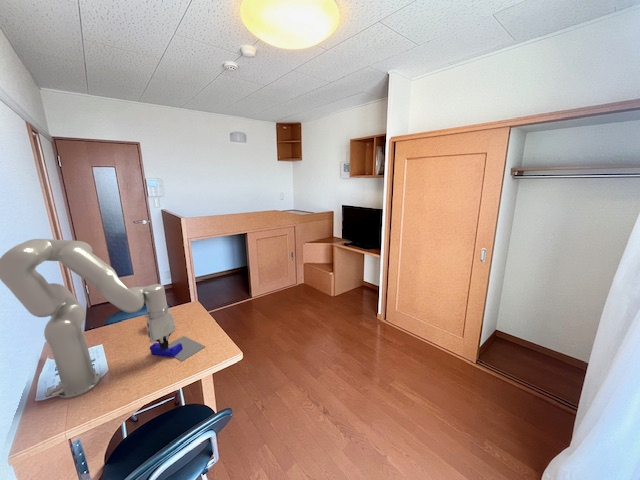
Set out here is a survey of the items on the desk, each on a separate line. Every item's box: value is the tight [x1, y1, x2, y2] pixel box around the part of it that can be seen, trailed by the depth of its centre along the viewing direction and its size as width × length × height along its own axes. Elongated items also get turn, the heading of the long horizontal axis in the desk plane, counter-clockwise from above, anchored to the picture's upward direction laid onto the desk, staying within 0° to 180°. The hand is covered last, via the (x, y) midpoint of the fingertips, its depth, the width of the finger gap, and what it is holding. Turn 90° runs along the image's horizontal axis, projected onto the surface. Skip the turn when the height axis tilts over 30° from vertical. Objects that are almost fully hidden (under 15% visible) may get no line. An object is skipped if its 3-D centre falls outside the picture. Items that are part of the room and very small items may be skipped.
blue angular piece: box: [149, 342, 183, 358], centre depth 122 cm, size 12×4×6 cm
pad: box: [168, 335, 206, 362], centre depth 126 cm, size 12×18×1 cm, turn 59°
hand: (164, 348), depth 118 cm, fingers closed
